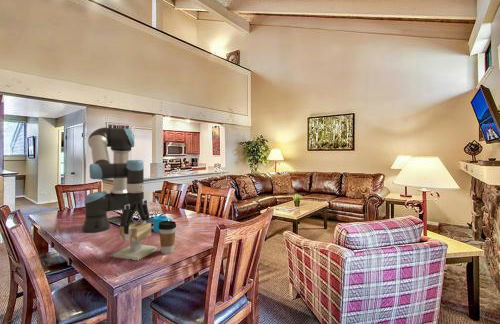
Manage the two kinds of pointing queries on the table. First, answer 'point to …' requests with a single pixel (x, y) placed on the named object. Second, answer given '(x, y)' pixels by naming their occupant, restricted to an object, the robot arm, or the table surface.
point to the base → (135, 251)
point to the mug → (156, 222)
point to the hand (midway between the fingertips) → (135, 236)
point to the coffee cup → (167, 236)
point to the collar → (137, 231)
